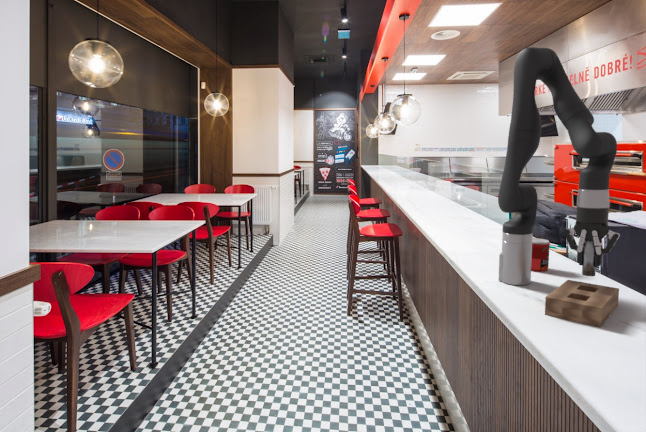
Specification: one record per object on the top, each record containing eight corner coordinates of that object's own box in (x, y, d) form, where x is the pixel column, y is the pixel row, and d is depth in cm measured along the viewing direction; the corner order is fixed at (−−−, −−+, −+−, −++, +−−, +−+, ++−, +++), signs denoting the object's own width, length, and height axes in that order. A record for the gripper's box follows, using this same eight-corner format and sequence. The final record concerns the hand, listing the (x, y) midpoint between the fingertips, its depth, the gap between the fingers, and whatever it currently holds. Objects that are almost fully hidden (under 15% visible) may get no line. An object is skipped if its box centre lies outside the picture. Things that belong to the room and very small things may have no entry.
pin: (580, 274, 119) (582, 240, 118) (583, 272, 121) (585, 238, 120) (593, 276, 117) (595, 241, 116) (596, 274, 119) (598, 239, 118)
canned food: (545, 273, 152) (546, 243, 151) (521, 269, 158) (523, 240, 156) (550, 268, 158) (552, 239, 156) (528, 265, 163) (529, 237, 162)
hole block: (544, 314, 115) (545, 296, 115) (567, 295, 129) (568, 279, 128) (600, 327, 106) (601, 308, 105) (617, 305, 120) (619, 288, 119)
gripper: (560, 205, 119) (557, 264, 121) (620, 208, 109) (615, 273, 111) (568, 202, 124) (565, 259, 126) (626, 205, 114) (622, 267, 116)
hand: (589, 265), depth 119 cm, fingers closed on pin, 3 cm apart
